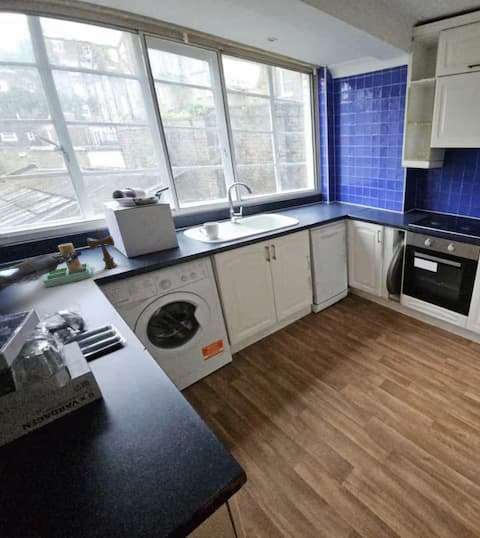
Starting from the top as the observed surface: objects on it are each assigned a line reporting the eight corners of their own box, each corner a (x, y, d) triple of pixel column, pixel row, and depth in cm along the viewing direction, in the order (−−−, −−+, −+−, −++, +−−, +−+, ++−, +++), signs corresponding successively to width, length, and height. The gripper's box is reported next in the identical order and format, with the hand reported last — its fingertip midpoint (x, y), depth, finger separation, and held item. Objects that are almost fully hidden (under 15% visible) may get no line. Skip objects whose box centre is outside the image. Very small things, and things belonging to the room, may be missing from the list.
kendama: (100, 267, 151) (83, 230, 143) (123, 263, 156) (108, 226, 148) (99, 271, 146) (82, 232, 138) (123, 266, 151) (108, 229, 143)
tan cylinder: (68, 271, 136) (57, 247, 131) (69, 268, 139) (58, 244, 134) (82, 268, 138) (71, 244, 134) (82, 266, 142) (72, 242, 137)
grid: (46, 287, 131) (42, 281, 130) (49, 277, 142) (46, 271, 141) (90, 277, 140) (88, 271, 139) (90, 268, 151) (88, 262, 150)
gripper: (25, 275, 124) (63, 260, 140) (58, 274, 124) (92, 259, 140) (17, 258, 121) (56, 245, 137) (50, 257, 121) (86, 244, 137)
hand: (74, 252), depth 138 cm, fingers closed on tan cylinder, 4 cm apart
